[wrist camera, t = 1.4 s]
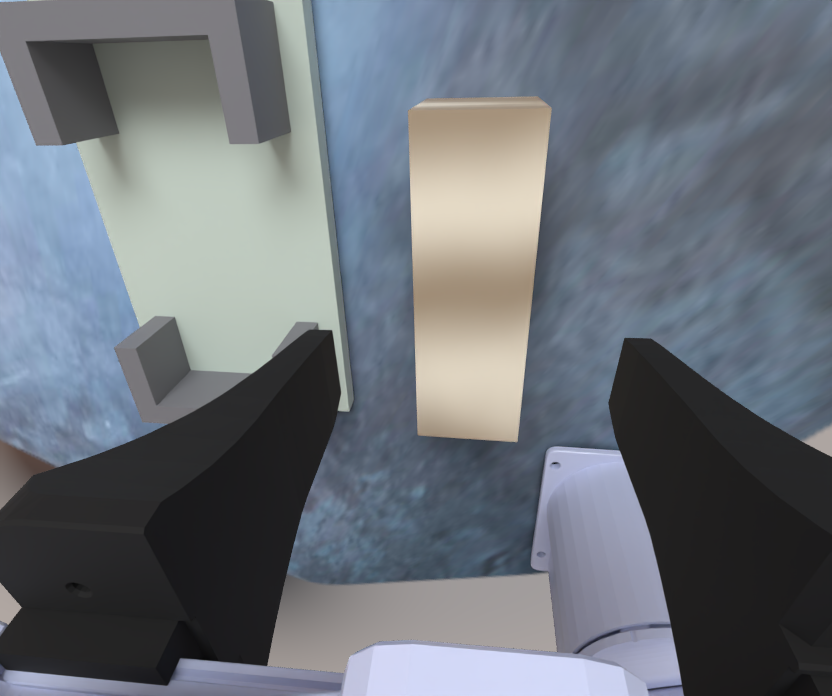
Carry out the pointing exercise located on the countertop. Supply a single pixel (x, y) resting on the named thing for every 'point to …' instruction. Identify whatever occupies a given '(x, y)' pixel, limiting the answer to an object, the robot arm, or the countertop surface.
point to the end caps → (194, 177)
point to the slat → (474, 258)
